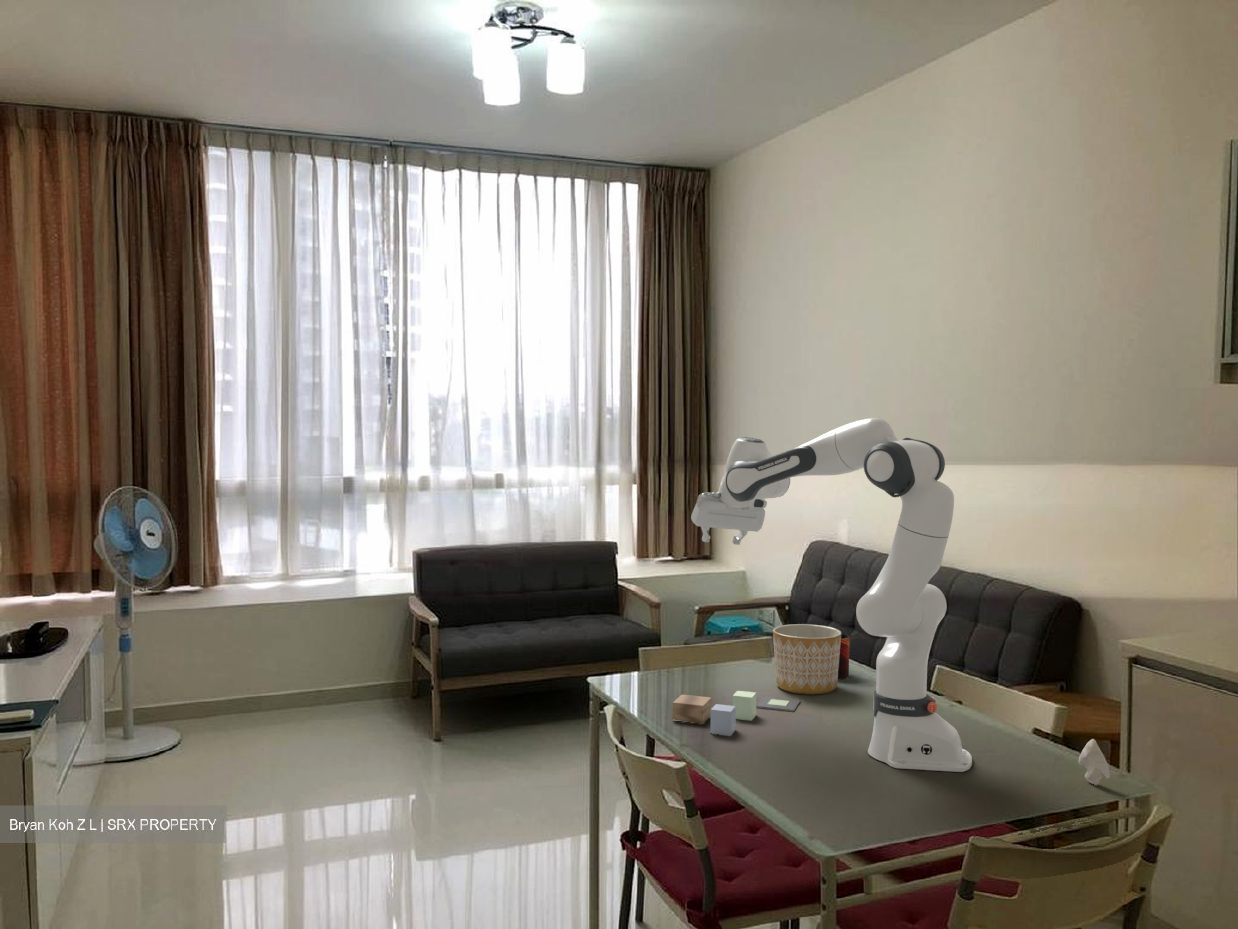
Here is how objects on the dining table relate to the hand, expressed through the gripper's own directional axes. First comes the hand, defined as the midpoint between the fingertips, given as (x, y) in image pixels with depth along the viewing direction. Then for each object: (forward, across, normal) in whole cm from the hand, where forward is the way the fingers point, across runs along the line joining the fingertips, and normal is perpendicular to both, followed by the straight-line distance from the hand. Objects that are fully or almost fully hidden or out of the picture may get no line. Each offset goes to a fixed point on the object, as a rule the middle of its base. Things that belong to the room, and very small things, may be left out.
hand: (720, 542), depth 257 cm
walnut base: (+40, -7, -22) cm, 47 cm away
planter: (+40, +36, -8) cm, 54 cm away
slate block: (+36, -5, -34) cm, 50 cm away
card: (+38, +20, -20) cm, 47 cm away
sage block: (+37, +6, -26) cm, 46 cm away
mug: (+41, +52, +3) cm, 67 cm away
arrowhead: (+9, +48, -90) cm, 103 cm away
